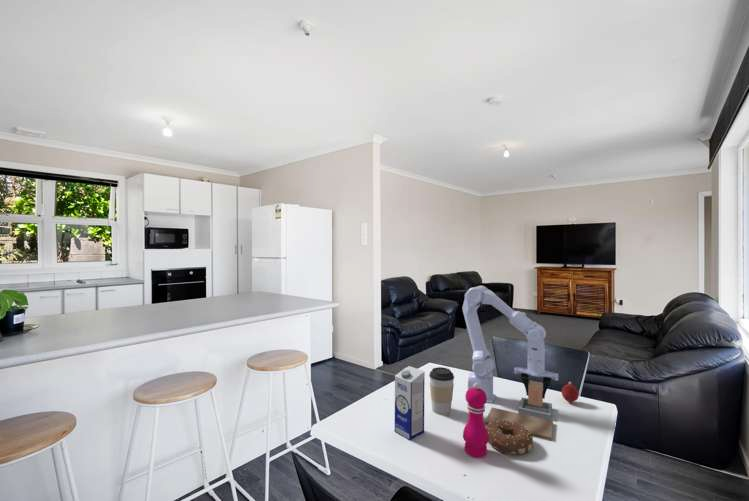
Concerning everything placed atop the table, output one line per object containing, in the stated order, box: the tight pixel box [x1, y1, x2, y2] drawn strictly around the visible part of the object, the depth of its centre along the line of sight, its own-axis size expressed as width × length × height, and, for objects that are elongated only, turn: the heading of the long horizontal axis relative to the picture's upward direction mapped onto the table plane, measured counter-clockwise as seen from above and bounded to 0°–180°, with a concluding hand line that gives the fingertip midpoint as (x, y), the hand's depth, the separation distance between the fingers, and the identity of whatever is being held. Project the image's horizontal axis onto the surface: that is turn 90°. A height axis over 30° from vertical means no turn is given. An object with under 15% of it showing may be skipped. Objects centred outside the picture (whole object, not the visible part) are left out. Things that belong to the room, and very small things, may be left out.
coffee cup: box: [428, 366, 455, 416], centre depth 127 cm, size 9×9×15 cm
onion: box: [561, 381, 580, 404], centre depth 134 cm, size 6×6×8 cm
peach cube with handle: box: [527, 379, 544, 407], centre depth 127 cm, size 6×5×7 cm
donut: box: [486, 420, 534, 456], centre depth 105 cm, size 14×14×5 cm
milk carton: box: [394, 365, 426, 441], centre depth 112 cm, size 7×7×20 cm
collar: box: [517, 397, 553, 421], centre depth 127 cm, size 10×10×2 cm
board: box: [484, 406, 554, 442], centre depth 118 cm, size 20×12×1 cm, turn 61°
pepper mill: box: [462, 383, 489, 459], centre depth 101 cm, size 7×7×20 cm
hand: (535, 396), depth 127 cm, fingers closed on peach cube with handle, 5 cm apart
